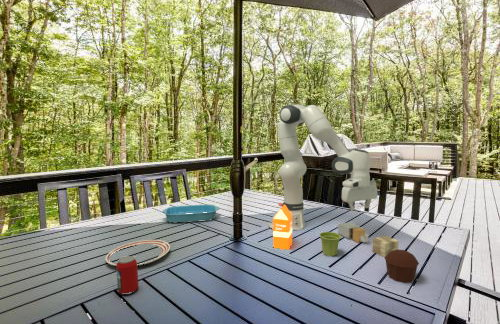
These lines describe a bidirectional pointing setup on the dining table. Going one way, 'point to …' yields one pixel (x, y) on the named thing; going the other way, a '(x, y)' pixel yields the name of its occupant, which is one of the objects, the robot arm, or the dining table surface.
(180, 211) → the casserole dish
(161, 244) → the beige round ring
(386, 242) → the socket block
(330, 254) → the plant pot
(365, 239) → the tube
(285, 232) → the orange juice
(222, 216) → the dining table surface
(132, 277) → the beverage can
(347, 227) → the outer sleeve
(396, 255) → the muffin
